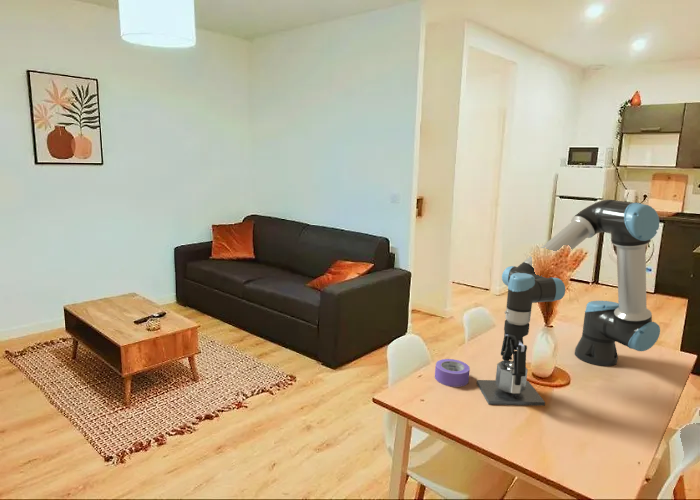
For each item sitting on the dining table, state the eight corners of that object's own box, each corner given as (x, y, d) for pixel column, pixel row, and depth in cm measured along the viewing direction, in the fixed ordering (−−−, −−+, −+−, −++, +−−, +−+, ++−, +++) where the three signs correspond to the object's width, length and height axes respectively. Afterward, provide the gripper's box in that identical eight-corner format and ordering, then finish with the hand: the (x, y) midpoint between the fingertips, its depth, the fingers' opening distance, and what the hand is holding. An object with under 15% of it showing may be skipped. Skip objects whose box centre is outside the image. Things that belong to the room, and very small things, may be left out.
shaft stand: (527, 384, 163) (531, 355, 161) (544, 405, 150) (548, 374, 147) (476, 383, 163) (479, 354, 161) (488, 404, 149) (491, 373, 147)
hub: (518, 380, 160) (520, 361, 159) (528, 393, 152) (530, 373, 150) (492, 379, 160) (494, 360, 158) (501, 392, 151) (503, 372, 150)
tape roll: (457, 369, 173) (458, 357, 172) (475, 384, 162) (476, 371, 161) (428, 373, 169) (429, 360, 168) (445, 389, 159) (446, 375, 158)
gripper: (495, 309, 161) (488, 370, 166) (517, 333, 140) (510, 402, 145) (516, 310, 162) (510, 370, 166) (542, 334, 140) (534, 402, 145)
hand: (510, 385), depth 156 cm, fingers closed on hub, 9 cm apart
